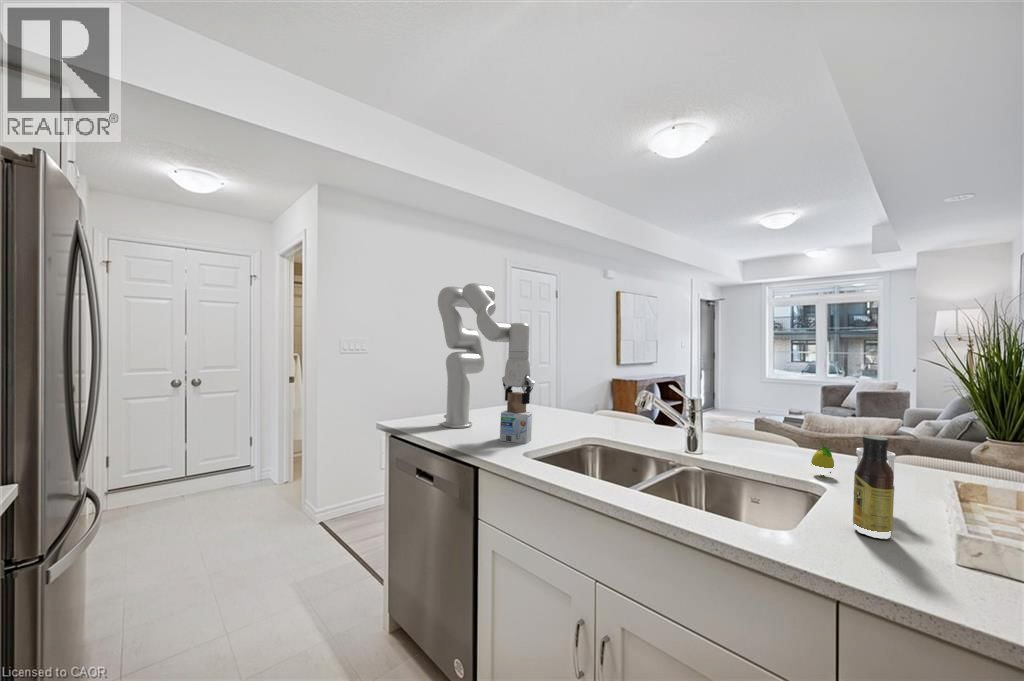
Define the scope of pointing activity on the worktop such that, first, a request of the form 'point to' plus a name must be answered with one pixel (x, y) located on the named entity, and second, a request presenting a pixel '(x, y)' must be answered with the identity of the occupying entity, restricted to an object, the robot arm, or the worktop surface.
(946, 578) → the worktop surface
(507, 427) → the light bulb box
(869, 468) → the sauce bottle
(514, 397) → the walnut block
